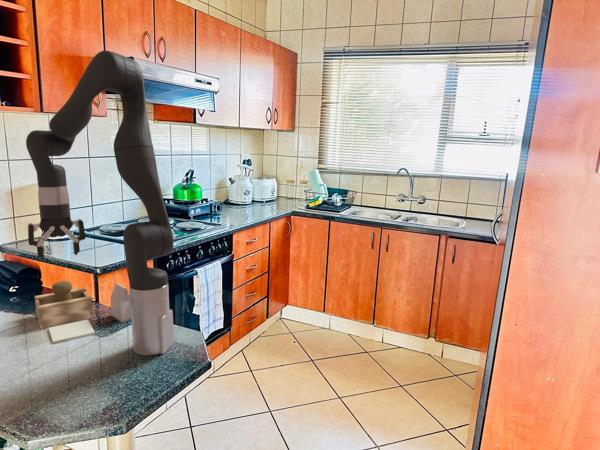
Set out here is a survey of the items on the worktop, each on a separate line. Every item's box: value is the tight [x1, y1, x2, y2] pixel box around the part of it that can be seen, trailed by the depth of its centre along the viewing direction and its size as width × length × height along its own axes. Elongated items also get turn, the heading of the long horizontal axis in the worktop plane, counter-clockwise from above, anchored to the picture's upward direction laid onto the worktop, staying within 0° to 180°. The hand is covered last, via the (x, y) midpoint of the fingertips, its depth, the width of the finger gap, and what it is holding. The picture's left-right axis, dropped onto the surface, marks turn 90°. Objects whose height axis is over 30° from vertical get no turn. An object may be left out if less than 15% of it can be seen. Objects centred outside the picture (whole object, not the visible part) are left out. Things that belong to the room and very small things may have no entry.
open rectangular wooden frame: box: [34, 287, 94, 330], centre depth 123 cm, size 14×11×6 cm
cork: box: [51, 280, 73, 303], centre depth 123 cm, size 6×6×11 cm
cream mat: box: [48, 319, 96, 345], centre depth 114 cm, size 10×10×1 cm
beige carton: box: [110, 283, 132, 323], centre depth 124 cm, size 4×7×10 cm, turn 48°
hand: (59, 256), depth 120 cm, fingers open, 8 cm apart
